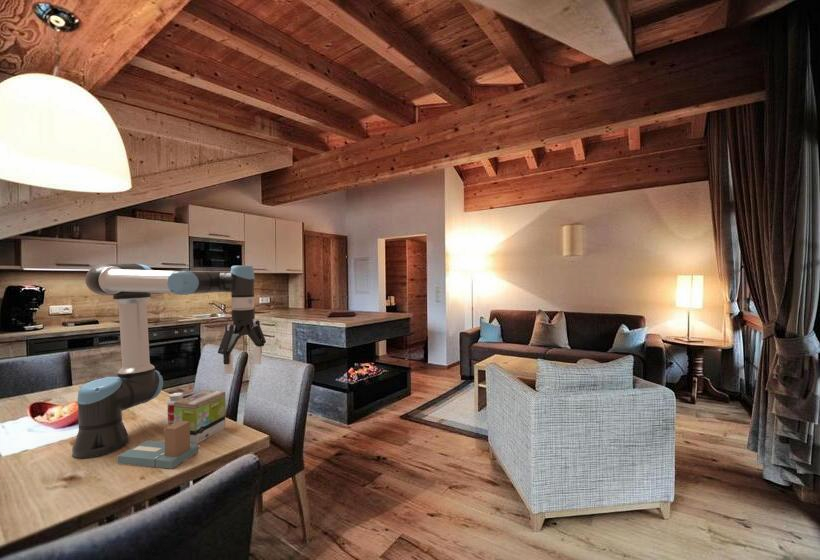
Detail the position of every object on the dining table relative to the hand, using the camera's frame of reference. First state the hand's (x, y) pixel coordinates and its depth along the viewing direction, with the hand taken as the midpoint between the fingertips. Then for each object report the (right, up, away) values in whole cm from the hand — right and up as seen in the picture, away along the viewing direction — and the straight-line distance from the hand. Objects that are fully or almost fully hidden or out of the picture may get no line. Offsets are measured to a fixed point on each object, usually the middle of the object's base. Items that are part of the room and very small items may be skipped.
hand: (243, 368), depth 131 cm
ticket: (-27, -27, -9) cm, 39 cm away
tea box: (-19, -27, +7) cm, 34 cm away
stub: (-17, -27, -11) cm, 34 cm away
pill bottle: (-37, -27, +21) cm, 50 cm away
